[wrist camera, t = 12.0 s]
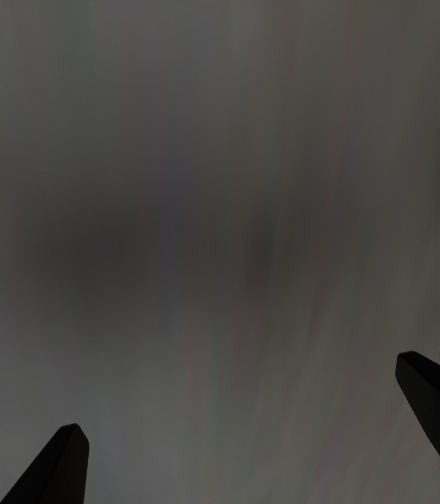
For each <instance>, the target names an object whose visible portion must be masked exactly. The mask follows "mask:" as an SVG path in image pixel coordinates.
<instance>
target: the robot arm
mask: <svg viewBox="0 0 440 504" xmlns="http://www.w3.org/2000/svg"><path fill="white" fill-rule="evenodd" d="M395 376H396V380H397V382H398V384H399V386H400V388H401V390H402V391H403V393H404V395H405V397H406V399H407V401H408V402H409V404H410V406H411V408H412V410H413V412H414V414H415V415H416V417H417V419H418V421H419V423H420V425H421V426H422V428H423V430H424V432H425V434H426V435H427V437H428V439H429V440H430V442H431V443H432V445H433V446H434V448H435V449H436V451H437V452H438V454H439V455H440V365H439V364H437V363H435V362H434V361H432V360H430V359H428V358H426V357H425V356H423V355H421V354H419V353H417V352H415V351H408V352H403V353H400V354H399V355H398V356H397V363H396V371H395ZM88 457H89V442H88V439H87V437H86V436H85V434H84V433H83V431H82V429H81V428H80V426H79V425H78V424H76V423H73V424H69V425H64V426H62V427H60V428H59V429H58V430H57V432H56V433H55V434H54V435H53V437H52V438H51V439H50V440H49V442H48V443H47V444H46V445H45V447H44V448H43V449H42V451H41V452H40V453H39V454H38V456H37V457H36V458H35V459H34V461H33V462H32V463H31V464H30V466H29V467H28V468H27V469H26V471H25V472H24V473H23V474H22V476H21V477H20V478H19V479H18V481H17V482H16V483H15V484H14V486H13V487H12V488H11V490H10V491H9V492H8V493H7V495H6V496H5V497H4V498H3V500H2V501H1V502H0V504H84V495H85V485H86V476H87V466H88Z"/></svg>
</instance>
